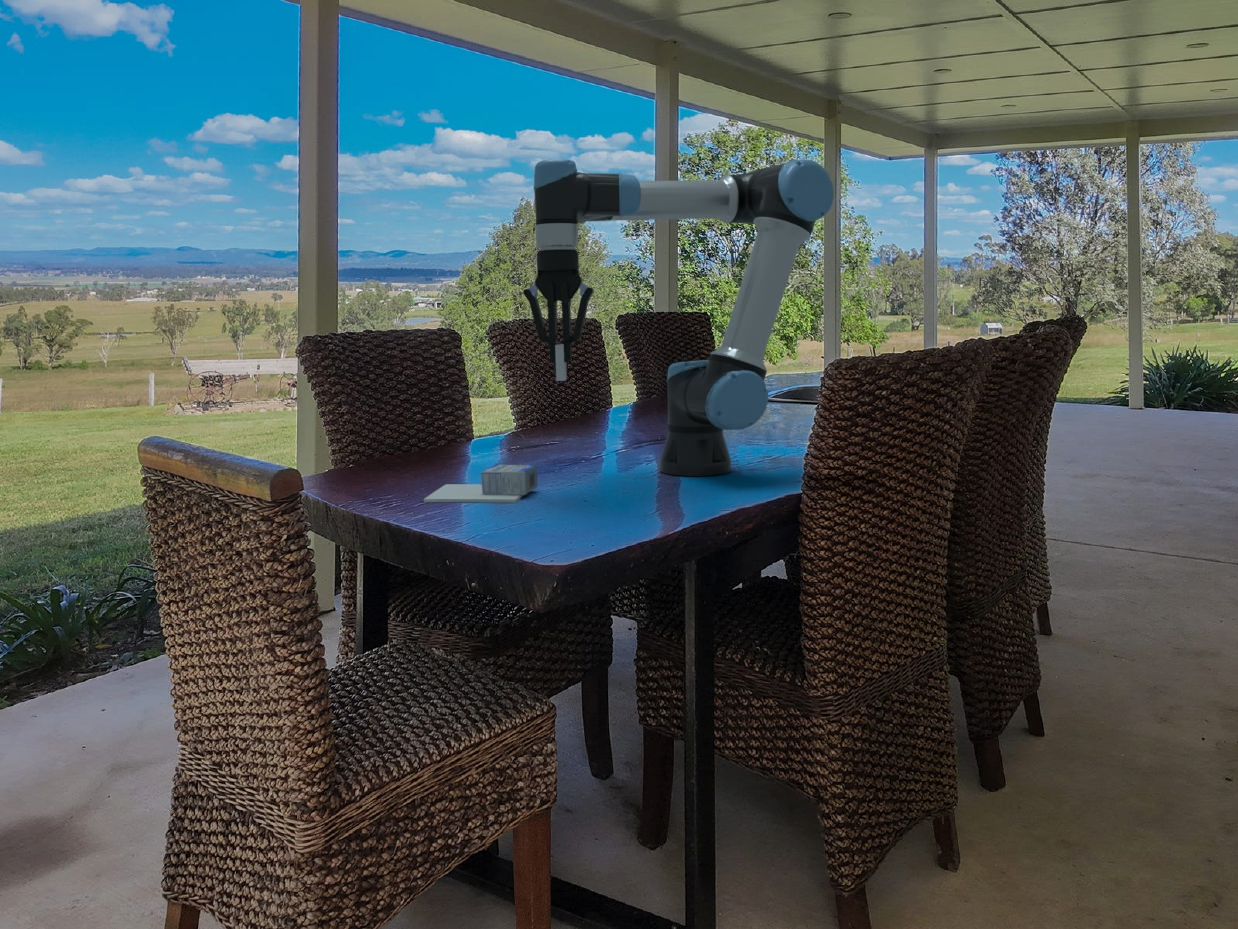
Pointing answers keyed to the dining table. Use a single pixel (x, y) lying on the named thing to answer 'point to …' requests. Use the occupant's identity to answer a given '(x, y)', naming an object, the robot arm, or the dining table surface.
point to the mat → (468, 495)
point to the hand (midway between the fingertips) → (561, 380)
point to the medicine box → (509, 479)
